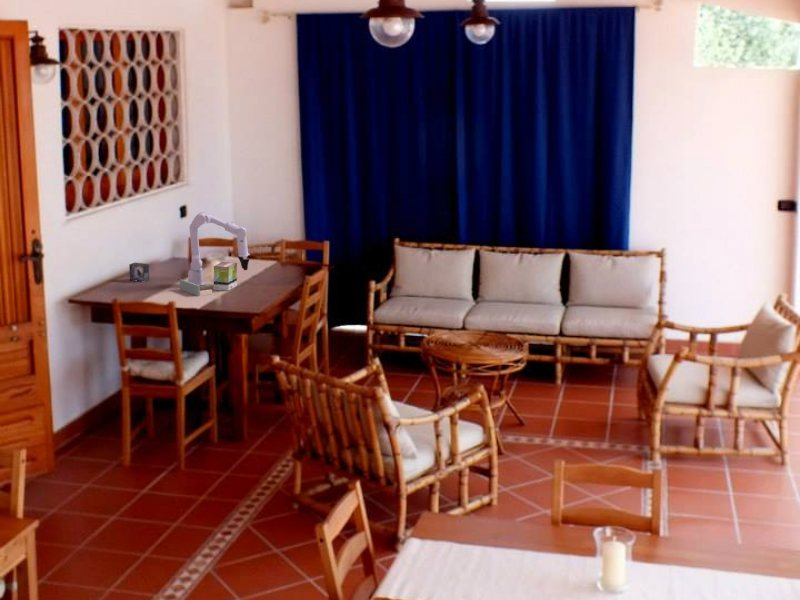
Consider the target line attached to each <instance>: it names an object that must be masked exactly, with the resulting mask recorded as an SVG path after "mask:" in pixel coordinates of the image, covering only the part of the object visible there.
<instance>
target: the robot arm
mask: <svg viewBox="0 0 800 600" xmlns="http://www.w3.org/2000/svg"><path fill="white" fill-rule="evenodd" d="M204 224H214V225H216V226H220V227H222V228H224V231H226V232H228V233H230V234H232V235H236V237H237V239H236V240H237V250H238V251H237V252H238V255H237V256H238V260H239V261H240V265H241V269H243V271H248V269H249V262H250V258H248V256H250V255H251V253H249V249H248V238H247V229H246V228H245V227H244V226H241V225H237V224H235V223H234V222H233V221H227V222H226V221H224V220H221V219H219V218H218V217H215V216H214V215H211V214H209V213H206V212H205V211H204V212H199V213H198V214H197V215H195V217H194V218H193V220H192V221H191V223H190V225H189V236H190V237H189V238H190V249H191V262H190V265H189V266H190V270H189V271H188V272H187V275H188V276H187V278H188V279H187V281H188V282H190V283H193V284H196V285H199V286H200V287H201V286H206V285H207V284H206V283H204V279H203V278H204V274H203V273H204V272H203V270H204V269H203V268H202V266H203V260H202V259H201V254H200V243H199V228H200V227H202V225H204Z"/></svg>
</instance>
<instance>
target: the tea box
mask: <svg viewBox="0 0 800 600" xmlns="http://www.w3.org/2000/svg"><path fill="white" fill-rule="evenodd" d="M237 286H238V263H237V262H231V261H230V262H226V261H222V262H219V263H217V264H215V265H214V266H213V290H215V291H216V290H217V291H230V290H231V289H234V288H235V287H237Z"/></svg>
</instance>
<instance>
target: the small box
mask: <svg viewBox="0 0 800 600" xmlns="http://www.w3.org/2000/svg"><path fill="white" fill-rule="evenodd" d="M149 266H150V265H149V263H142V262H141V263H140V262H133V263H130V264H129V266H128V267H129V280H130V279H131V280H137V281H136V282H139V281H146V282H148V281H147V280H149V281H150V267H149Z"/></svg>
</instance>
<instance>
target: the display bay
mask: <svg viewBox="0 0 800 600" xmlns="http://www.w3.org/2000/svg"><path fill="white" fill-rule="evenodd" d="M179 290H180V291H184V292H185V293H189V294H191V295H195V296H196V297H199V296H207V295H213V290H212V289H207V290H201V285H200V286H199V285H196V284H193V283H190V282H188V280H184V279H181V278H180V279H179Z"/></svg>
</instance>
